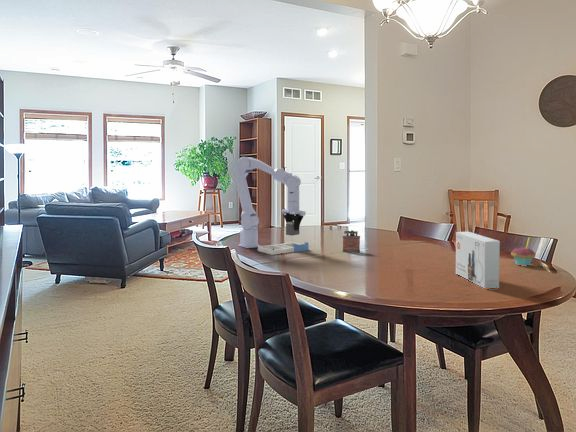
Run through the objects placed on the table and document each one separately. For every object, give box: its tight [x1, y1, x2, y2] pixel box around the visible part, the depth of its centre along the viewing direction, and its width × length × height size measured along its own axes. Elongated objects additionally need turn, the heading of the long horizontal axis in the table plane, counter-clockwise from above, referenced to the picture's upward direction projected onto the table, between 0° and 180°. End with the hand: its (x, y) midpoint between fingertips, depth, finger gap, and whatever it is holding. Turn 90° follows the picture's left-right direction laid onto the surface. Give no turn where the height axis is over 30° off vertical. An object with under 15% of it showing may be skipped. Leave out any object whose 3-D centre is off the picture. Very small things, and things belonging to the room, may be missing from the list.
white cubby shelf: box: [257, 241, 310, 256], centre depth 213 cm, size 13×21×4 cm, turn 127°
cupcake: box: [510, 235, 536, 266], centre depth 179 cm, size 9×8×12 cm
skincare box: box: [455, 231, 501, 289], centre depth 153 cm, size 21×5×16 cm, turn 5°
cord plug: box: [285, 221, 300, 237], centre depth 215 cm, size 4×5×6 cm
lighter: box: [341, 229, 361, 254], centre depth 209 cm, size 8×3×10 cm, turn 84°
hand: (293, 229), depth 216 cm, fingers closed on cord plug, 4 cm apart
